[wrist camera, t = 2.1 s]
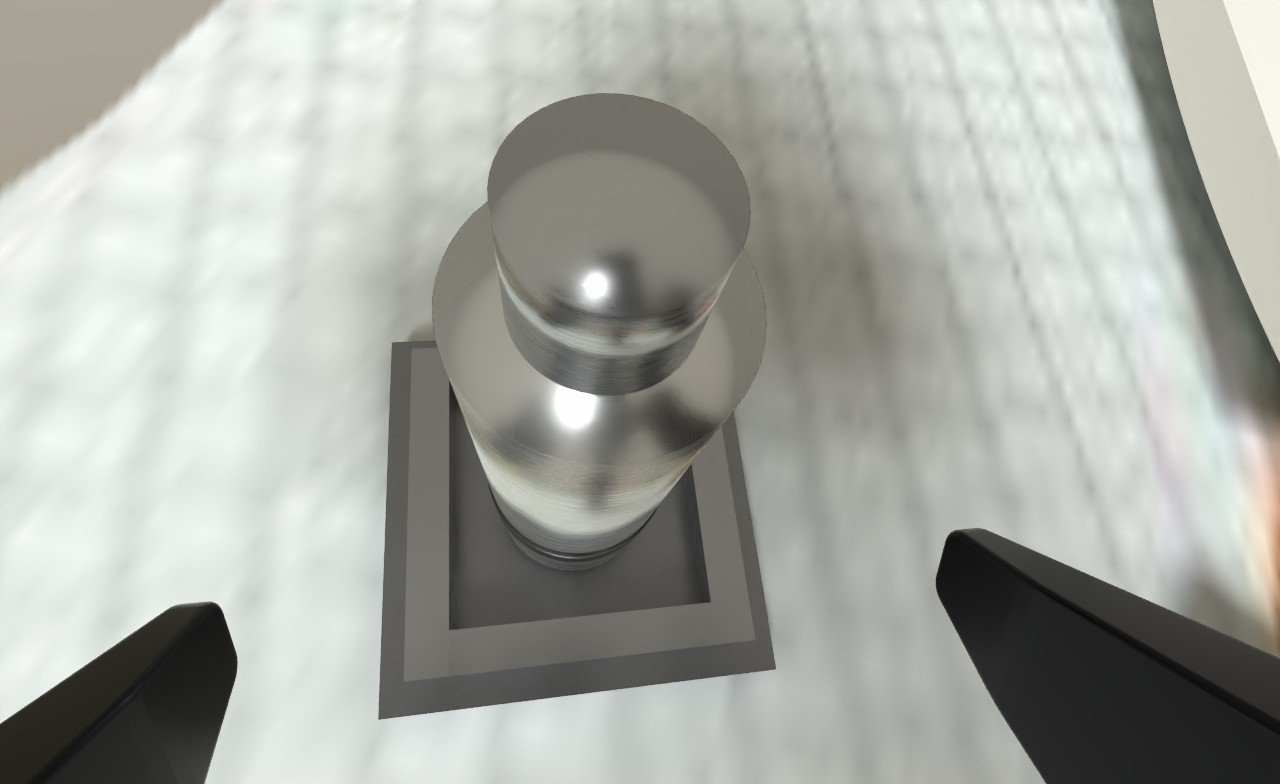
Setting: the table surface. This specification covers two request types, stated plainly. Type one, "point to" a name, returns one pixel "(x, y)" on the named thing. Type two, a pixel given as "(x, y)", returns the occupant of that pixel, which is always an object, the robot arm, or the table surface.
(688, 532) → the socket
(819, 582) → the table surface
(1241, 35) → the board
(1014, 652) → the robot arm
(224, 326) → the table surface
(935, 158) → the table surface
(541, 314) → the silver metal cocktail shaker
